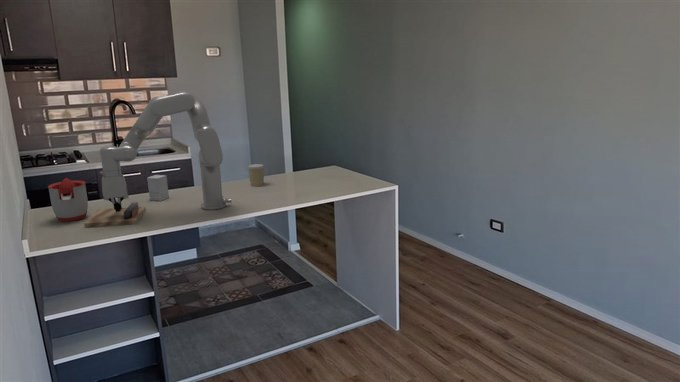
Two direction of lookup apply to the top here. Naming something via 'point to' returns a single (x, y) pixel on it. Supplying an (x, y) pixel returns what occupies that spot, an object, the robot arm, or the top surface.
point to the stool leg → (130, 210)
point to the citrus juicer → (69, 200)
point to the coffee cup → (256, 175)
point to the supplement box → (158, 187)
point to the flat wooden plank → (114, 217)
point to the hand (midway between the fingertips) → (118, 210)
